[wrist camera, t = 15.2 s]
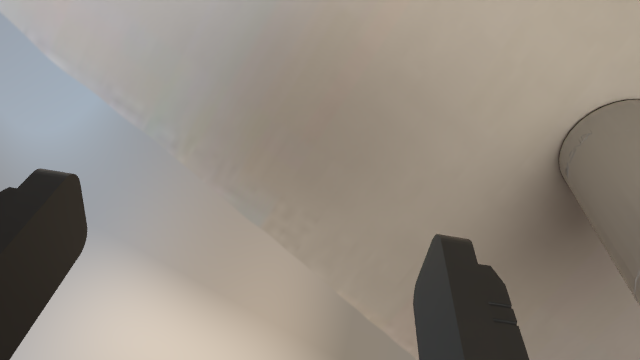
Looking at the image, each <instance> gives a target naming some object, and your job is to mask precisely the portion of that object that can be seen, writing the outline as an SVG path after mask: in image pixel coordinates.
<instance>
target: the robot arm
mask: <svg viewBox="0 0 640 360" xmlns="http://www.w3.org/2000/svg"><path fill="white" fill-rule="evenodd" d="M559 165H560V171H561V173H562V175H563V177H564V179H565V181H566V182H567V184H568V186H569V187H570V189H571V191H572V193H573V194H574V196H575V198H576V199H577V201H578V203H579V205H580V206H581V208H582V210H583V212H584V213H585V215H586V217H587V218H588V220H589V222H590V223H591V225H592V227H593V228H594V230H595V232H596V233H597V235H598V237H599V238H600V240H601V242H602V243H603V245H604V247H605V249H606V250H607V252H608V254H609V255H610V257H611V259H612V260H613V262H614V264H615V265H616V267H617V269H618V270H619V272H620V274H621V275H622V277H623V279H624V281H625V282H626V284H627V286H628V287H629V289H630V291H631V292H632V294H633V296H634V297H635V299H636V301H637V302H638V304H639V305H640V100H626V101H620V102H615V103H613V104H610V105H607V106H604V107H602V108H600V109H598V110H596V111H594V112H592V113H591V114H589V115H588V116H586V117H585V118H584V119H583V120H581V121H580V122H579V123H578V124H577V125H576V126H575V127H574V128H573V129H572V130H571V131H570V133H569V134H568V136H567V137H566V139H565V140H564V142H563V145H562V148H561V150H560V156H559ZM81 192H82V191H81V185H80V181H79V178H78V176H77V175H75V174H71V173H64V172H58V171H52V170H46V169H37V170H35V171H34V172H33V173H32V174H31V175H30V176H29V177H28V178H27V179H26V180H25V181H24V182H23V183H22V184H21V185H20V186H19V187H18V188H11V187H9V188H7V189H5V190H3V191H1V192H0V360H9V359H10V358H11V357H12V355H13V354H14V352H15V351H16V349H17V347H18V346H19V345H20V343H21V342H22V340H23V339H24V337H25V336H26V334H27V333H28V331H29V330H30V328H31V327H32V325H33V324H34V322H35V321H36V319H37V318H38V316H39V315H40V313H41V312H42V310H43V309H44V307H45V306H46V304H47V303H48V302H49V300H50V299H51V297H52V296H53V294H54V293H55V291H56V290H57V288H58V286H59V285H60V284H61V282H62V281H63V279H64V278H65V276H66V275H67V273H68V272H69V270H70V268H71V267H72V266H73V264H74V263H75V261H76V260H77V258H78V257H79V255H80V254H81V252H82V250H83V248H84V245H85V241H86V237H87V223H86V217H85V211H84V204H83V198H82V193H81ZM413 306H414V316H415V325H416V334H417V343H418V352H419V360H529V358H528V354H527V351H526V348H525V345H524V342H523V339H522V336H521V333H520V329H519V326H517V320H516V317H515V314H514V311H513V309H511V306H512V305H511V301H510V298H509V295H508V292H507V289H506V286H505V284H504V283H503V282H502V280H501V279H500V278H499V276H498V275H497V274H496V273H495V271H494V270H493V269H492V267H491V266H487V265H481V264H478V263H477V259H476V255H475V252H474V248H473V245H472V242H471V241H470V240H469V239H463V238H457V237H451V236H445V235H439V234H436V235H435V236H434V238H433V240H432V242H431V245H430V247H429V250H428V252H427V255H426V258H425V260H424V263H423V265H422V268H421V271H420V273H419V276H418V279H417V281H416V285H415V290H414V301H413Z"/></svg>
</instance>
